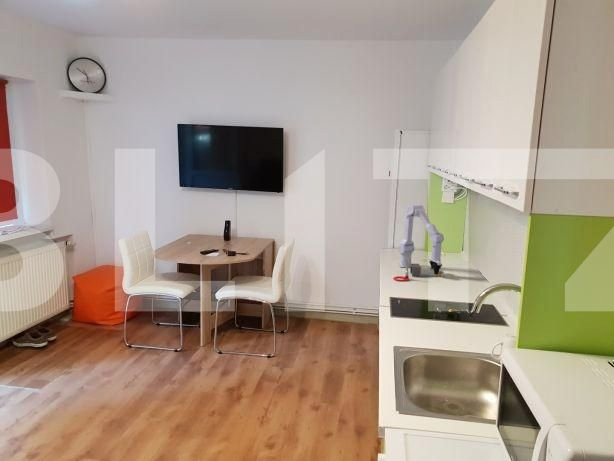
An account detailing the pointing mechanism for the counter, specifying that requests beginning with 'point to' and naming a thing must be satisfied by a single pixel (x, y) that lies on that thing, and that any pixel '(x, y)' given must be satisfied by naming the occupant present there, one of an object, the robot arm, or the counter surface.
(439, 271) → the tray
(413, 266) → the bracket
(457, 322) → the counter surface
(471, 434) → the counter surface
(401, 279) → the tow hook
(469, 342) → the counter surface
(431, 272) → the pin
